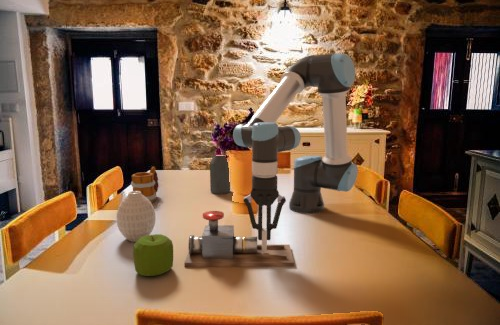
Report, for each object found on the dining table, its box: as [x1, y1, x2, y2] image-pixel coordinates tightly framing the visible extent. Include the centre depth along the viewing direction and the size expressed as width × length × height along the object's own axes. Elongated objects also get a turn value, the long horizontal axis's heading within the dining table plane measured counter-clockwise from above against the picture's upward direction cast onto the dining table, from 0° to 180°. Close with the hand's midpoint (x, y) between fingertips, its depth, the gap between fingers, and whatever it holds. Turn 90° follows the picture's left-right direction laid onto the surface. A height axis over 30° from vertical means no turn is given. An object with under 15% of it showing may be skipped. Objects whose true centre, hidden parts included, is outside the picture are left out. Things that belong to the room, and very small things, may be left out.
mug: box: [130, 166, 159, 203], centre depth 173 cm, size 11×16×15 cm, turn 158°
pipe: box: [233, 236, 258, 253], centre depth 113 cm, size 10×5×5 cm, turn 90°
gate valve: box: [188, 210, 235, 260], centre depth 112 cm, size 13×9×13 cm, turn 90°
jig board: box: [184, 244, 295, 268], centre depth 113 cm, size 32×13×2 cm, turn 90°
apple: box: [132, 233, 174, 277], centre depth 103 cm, size 11×11×11 cm
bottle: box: [209, 152, 231, 195], centre depth 185 cm, size 10×10×30 cm
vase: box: [116, 190, 157, 243], centre depth 126 cm, size 13×13×17 cm
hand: (264, 249), depth 113 cm, fingers closed
